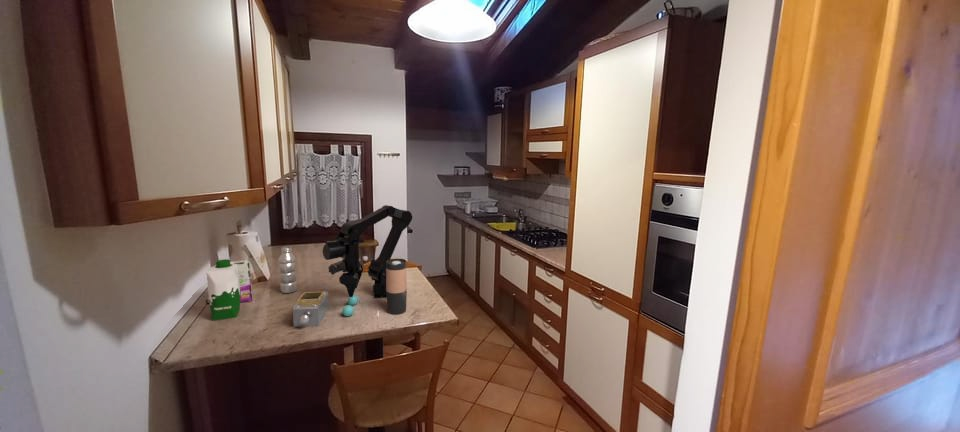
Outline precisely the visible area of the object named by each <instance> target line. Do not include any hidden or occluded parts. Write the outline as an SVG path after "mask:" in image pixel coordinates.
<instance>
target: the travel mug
mask: <svg viewBox="0 0 960 432" xmlns="http://www.w3.org/2000/svg"><path fill="white" fill-rule="evenodd" d="M407 275H408V274H407V260H406V259H404V258H391V259H390V260H387V261H386V294H387V297H386V307H387V309H386V310H387V313H388V314H389V315H392V316H393V315H394V316H395V315H396V316H397V315H402V314H404V313H405V312H406V311H407V295H408V294H407V293H408V292H407V290H408V287H407V286H408V285H407V284H408V282H407V277H408V276H407Z"/></svg>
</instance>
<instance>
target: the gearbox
mask: <svg viewBox="0 0 960 432" xmlns="http://www.w3.org/2000/svg"><path fill="white" fill-rule="evenodd" d="M329 304H330V303H329V291H325V290H323V291H311V292H310V291H307V292H303V293H302V294H301V295H300V296H299V298H298V299H297V303H296V304H295V305H294V306H293V307H292V316H293V318H292V319H293V328H306V327H319V326H320V324H321V323H322V321H323V320H324V318H325V316H326V315H327V313H328V311H329V310H330V305H329Z"/></svg>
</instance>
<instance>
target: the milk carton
mask: <svg viewBox="0 0 960 432" xmlns="http://www.w3.org/2000/svg"><path fill="white" fill-rule="evenodd" d="M230 261H231V260H230V259H228V258H227V259H226V258H225V259H218V260H216V261H215V264H216V266H215V265H212V266H211V267H210V268H209V269H208V270H207V272H206V281H207V294H208V301H209V308H210V314H211V318H212V321H213V320H214V321H218V320H219V321H220V320H226V319H233V318H237V317H238V314H239V312H240V310H241V308H240V307H241V302H240V300H241V299H240V286H239V276H238V267H237V264H230Z"/></svg>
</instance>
